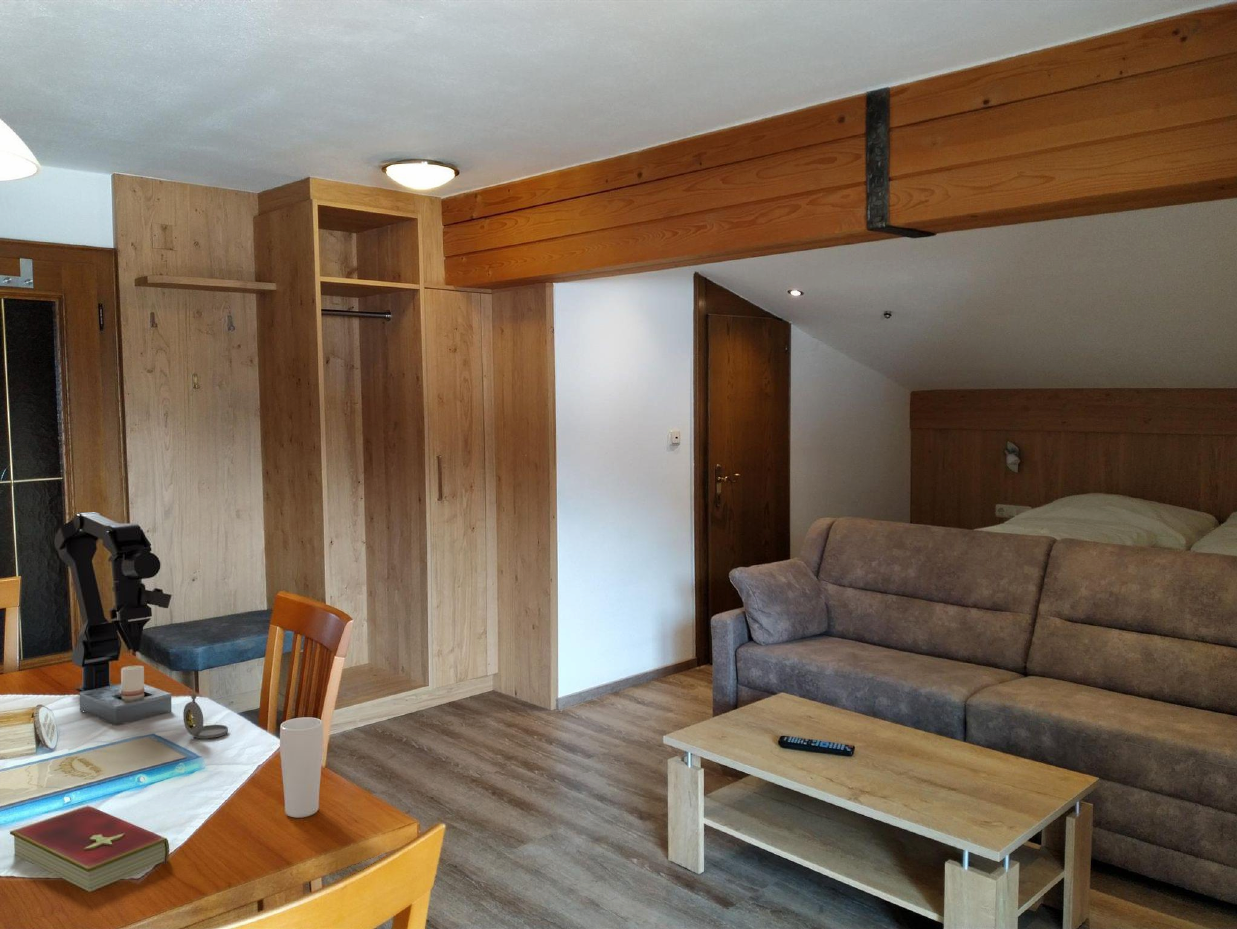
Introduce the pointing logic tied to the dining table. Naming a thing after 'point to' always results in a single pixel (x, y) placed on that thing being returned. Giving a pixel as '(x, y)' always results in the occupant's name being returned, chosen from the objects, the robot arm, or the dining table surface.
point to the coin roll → (132, 683)
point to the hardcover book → (89, 847)
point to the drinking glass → (301, 764)
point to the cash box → (124, 704)
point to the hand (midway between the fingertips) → (133, 650)
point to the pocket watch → (200, 722)
